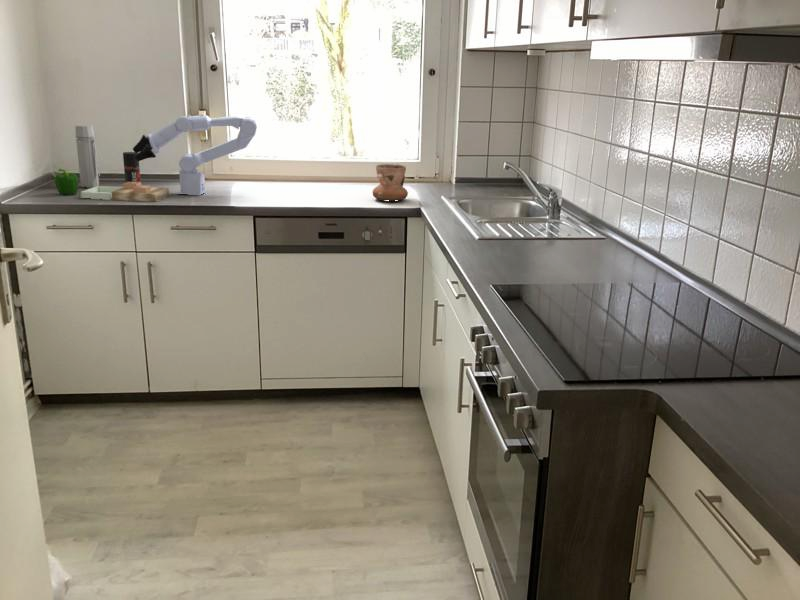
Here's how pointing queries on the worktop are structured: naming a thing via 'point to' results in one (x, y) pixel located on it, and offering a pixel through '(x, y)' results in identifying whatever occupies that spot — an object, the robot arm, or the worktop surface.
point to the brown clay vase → (390, 182)
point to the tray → (99, 192)
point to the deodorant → (131, 167)
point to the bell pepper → (66, 183)
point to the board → (140, 194)
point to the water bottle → (87, 156)
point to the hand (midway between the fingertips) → (135, 155)
